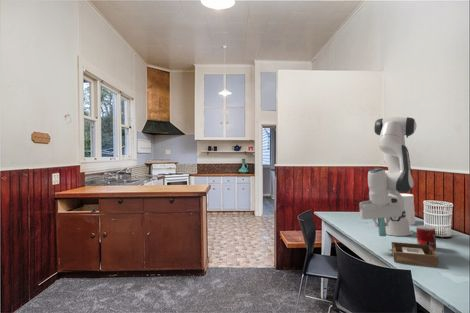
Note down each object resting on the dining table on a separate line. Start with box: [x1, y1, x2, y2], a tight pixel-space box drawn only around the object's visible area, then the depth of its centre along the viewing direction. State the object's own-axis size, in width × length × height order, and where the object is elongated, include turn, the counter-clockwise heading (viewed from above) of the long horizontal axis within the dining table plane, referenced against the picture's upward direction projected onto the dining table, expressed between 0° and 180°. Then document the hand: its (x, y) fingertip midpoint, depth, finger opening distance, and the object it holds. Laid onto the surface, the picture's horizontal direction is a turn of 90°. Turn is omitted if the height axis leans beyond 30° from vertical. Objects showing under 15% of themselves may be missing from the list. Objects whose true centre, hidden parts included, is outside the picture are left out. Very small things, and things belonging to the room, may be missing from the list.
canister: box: [399, 192, 416, 226], centre depth 192 cm, size 16×16×20 cm
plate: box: [402, 247, 424, 254], centre depth 123 cm, size 8×8×4 cm
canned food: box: [416, 224, 437, 251], centre depth 136 cm, size 8×8×11 cm
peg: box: [377, 218, 387, 237], centre depth 138 cm, size 3×3×12 cm
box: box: [391, 241, 439, 268], centre depth 123 cm, size 16×16×5 cm
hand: (381, 226), depth 138 cm, fingers closed on peg, 3 cm apart
